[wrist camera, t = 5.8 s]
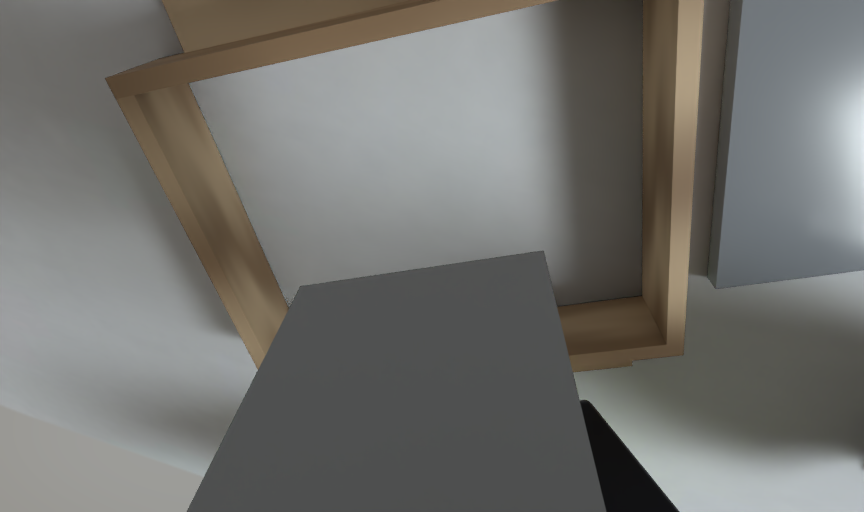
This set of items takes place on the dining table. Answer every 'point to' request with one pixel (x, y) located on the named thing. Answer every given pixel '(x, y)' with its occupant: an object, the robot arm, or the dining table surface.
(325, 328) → the box
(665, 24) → the wooden frame
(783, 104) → the coaster
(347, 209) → the dining table surface
